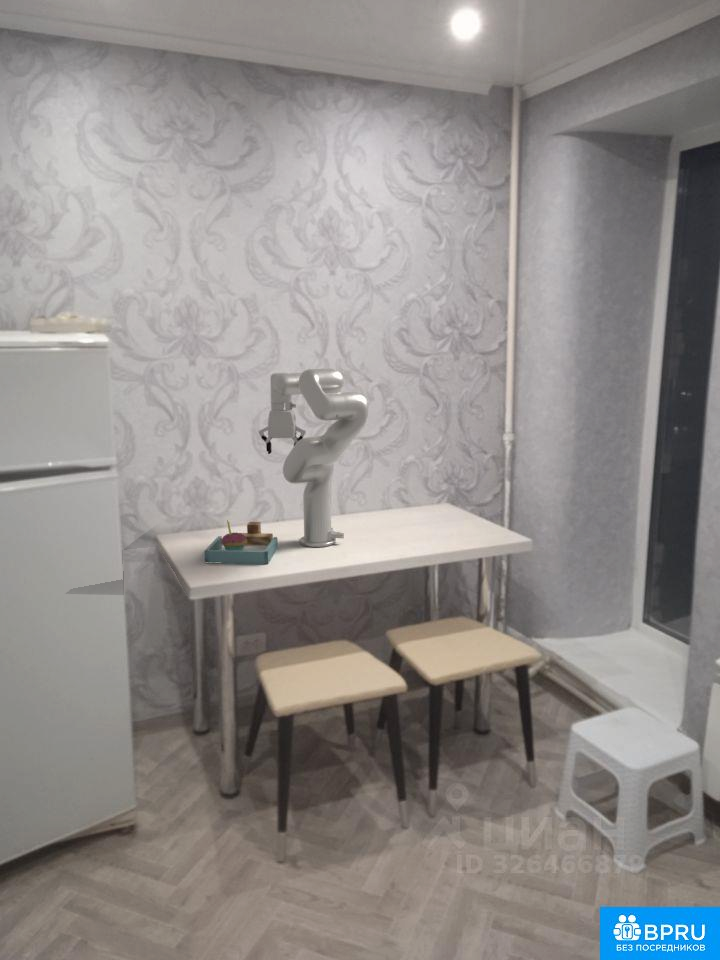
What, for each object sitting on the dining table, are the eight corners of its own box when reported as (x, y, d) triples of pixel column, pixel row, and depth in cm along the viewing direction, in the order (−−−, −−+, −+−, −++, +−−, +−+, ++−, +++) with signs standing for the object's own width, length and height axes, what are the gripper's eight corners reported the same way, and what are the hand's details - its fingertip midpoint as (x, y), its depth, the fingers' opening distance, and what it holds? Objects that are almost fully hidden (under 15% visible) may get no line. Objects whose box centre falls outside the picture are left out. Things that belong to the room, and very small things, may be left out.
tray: (277, 548, 248) (277, 537, 247) (267, 564, 231) (267, 552, 230) (218, 547, 249) (218, 536, 249) (204, 563, 233) (204, 551, 232)
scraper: (274, 538, 260) (274, 522, 259) (270, 545, 252) (270, 528, 251) (236, 537, 261) (235, 521, 260) (231, 544, 253) (230, 527, 252)
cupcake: (226, 559, 237) (224, 523, 234) (218, 552, 244) (216, 517, 242) (251, 555, 241) (250, 520, 238) (242, 548, 248) (241, 514, 246)
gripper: (306, 406, 269) (307, 452, 272) (260, 406, 270) (261, 451, 273) (303, 408, 261) (304, 455, 265) (256, 408, 262) (257, 455, 266)
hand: (282, 453), depth 269 cm, fingers open, 9 cm apart
